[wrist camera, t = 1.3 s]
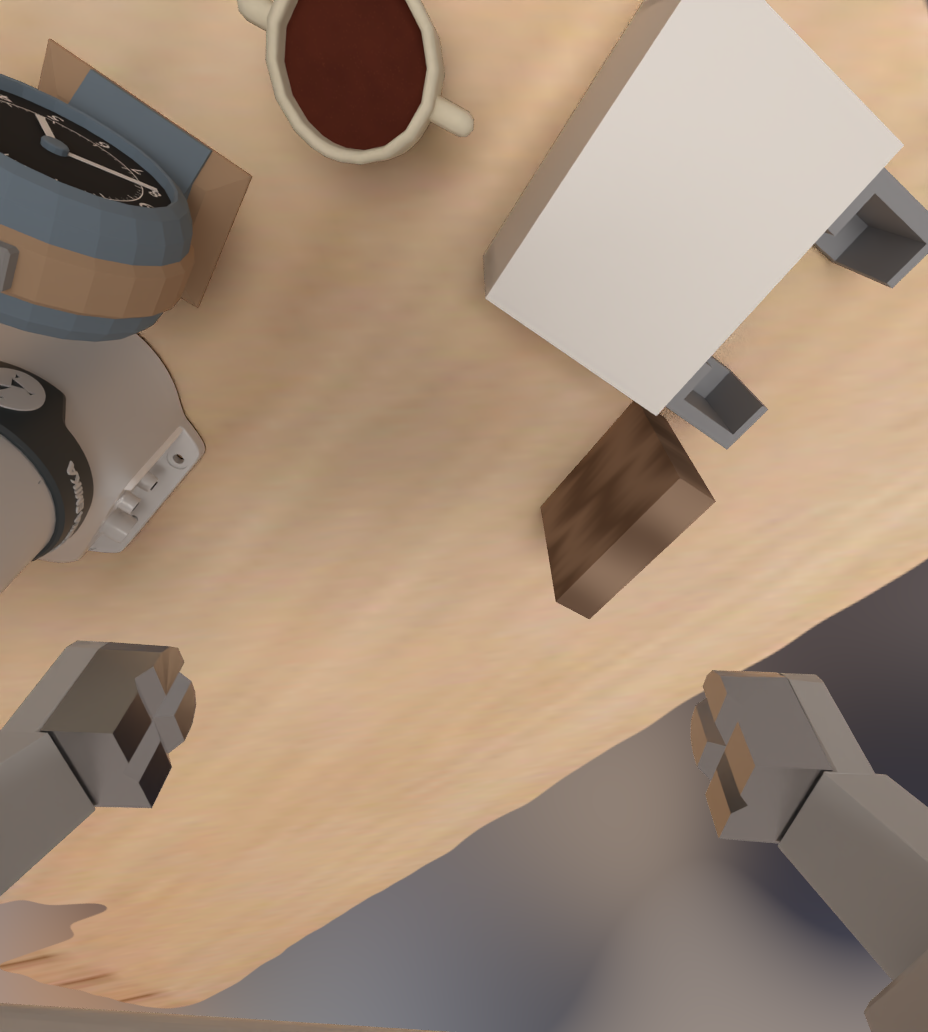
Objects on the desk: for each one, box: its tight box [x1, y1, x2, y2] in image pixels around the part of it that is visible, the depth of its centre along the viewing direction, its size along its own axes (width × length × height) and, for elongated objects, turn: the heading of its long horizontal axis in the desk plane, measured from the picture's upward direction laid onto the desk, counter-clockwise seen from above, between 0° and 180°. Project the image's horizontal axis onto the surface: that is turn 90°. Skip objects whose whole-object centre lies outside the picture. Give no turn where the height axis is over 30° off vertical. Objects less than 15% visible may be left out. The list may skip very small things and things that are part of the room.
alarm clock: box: [0, 39, 252, 342], centre depth 31 cm, size 14×10×18 cm
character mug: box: [237, 0, 474, 165], centre depth 30 cm, size 11×7×13 cm, turn 65°
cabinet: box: [483, 0, 928, 449], centre depth 35 cm, size 16×20×11 cm
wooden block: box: [541, 401, 716, 619], centre depth 45 cm, size 12×4×12 cm, turn 147°
